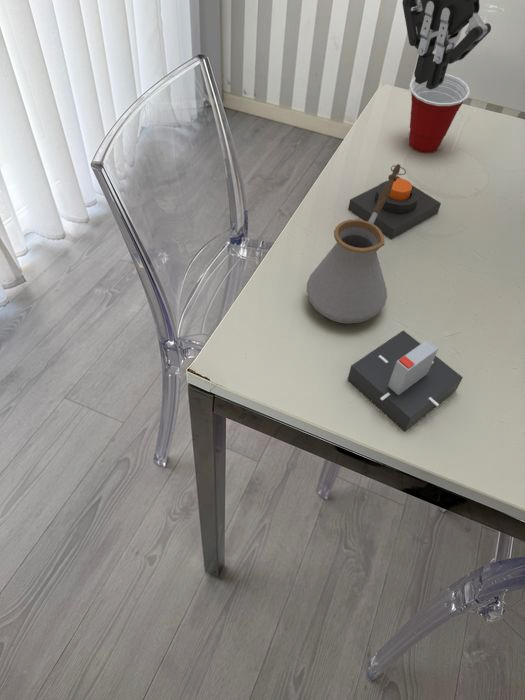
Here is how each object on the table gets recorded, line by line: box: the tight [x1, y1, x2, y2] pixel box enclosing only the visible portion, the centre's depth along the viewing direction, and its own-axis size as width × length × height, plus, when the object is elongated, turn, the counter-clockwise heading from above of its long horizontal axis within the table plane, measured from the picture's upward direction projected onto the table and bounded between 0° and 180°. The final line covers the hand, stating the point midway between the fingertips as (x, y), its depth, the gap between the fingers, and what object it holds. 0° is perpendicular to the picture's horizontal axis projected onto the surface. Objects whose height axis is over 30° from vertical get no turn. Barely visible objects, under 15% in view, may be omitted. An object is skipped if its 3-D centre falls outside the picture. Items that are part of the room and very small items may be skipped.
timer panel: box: [347, 329, 463, 432], centre depth 72 cm, size 11×11×3 cm
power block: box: [347, 175, 442, 240], centre depth 96 cm, size 12×10×4 cm
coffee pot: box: [306, 163, 407, 324], centre depth 80 cm, size 21×12×15 cm, turn 153°
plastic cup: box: [408, 73, 471, 154], centre depth 107 cm, size 11×11×12 cm
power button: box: [388, 177, 413, 201], centre depth 94 cm, size 4×4×2 cm
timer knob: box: [388, 339, 439, 395], centre depth 69 cm, size 6×2×5 cm, turn 129°
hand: (426, 84), depth 81 cm, fingers closed
